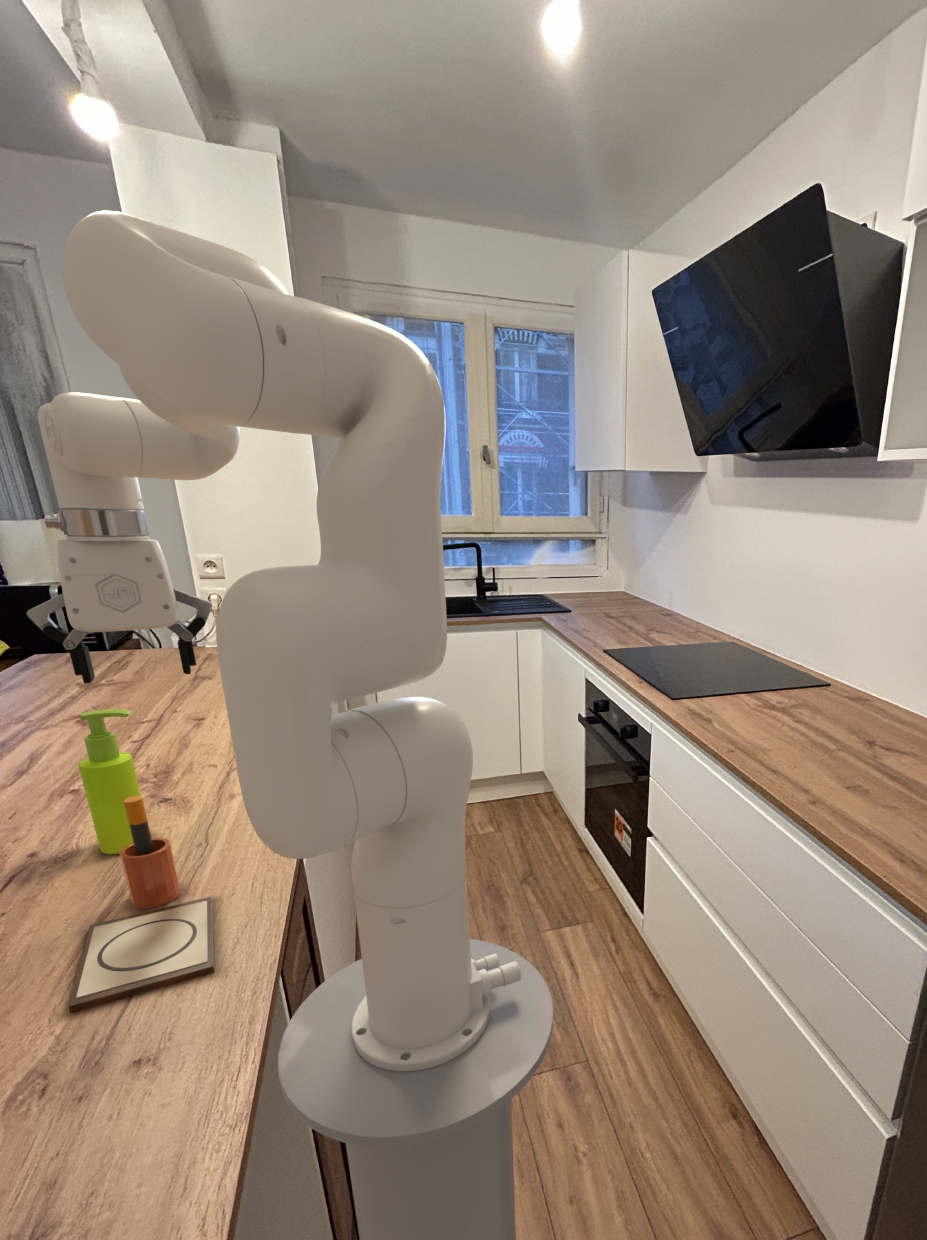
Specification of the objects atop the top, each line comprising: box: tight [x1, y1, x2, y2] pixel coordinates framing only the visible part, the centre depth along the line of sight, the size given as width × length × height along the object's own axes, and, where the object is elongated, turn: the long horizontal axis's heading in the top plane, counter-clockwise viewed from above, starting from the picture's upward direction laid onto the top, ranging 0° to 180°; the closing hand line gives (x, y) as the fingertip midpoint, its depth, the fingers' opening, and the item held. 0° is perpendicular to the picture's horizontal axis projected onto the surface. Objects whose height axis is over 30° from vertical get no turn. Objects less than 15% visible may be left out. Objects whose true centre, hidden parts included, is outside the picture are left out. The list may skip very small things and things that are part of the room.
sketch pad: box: [68, 896, 216, 1014], centre depth 71 cm, size 12×15×1 cm
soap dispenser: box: [78, 708, 142, 855], centre depth 90 cm, size 6×7×20 cm
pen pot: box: [119, 837, 181, 909], centre depth 80 cm, size 5×5×7 cm
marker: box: [124, 795, 155, 856], centre depth 78 cm, size 2×2×13 cm
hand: (140, 676), depth 77 cm, fingers open, 9 cm apart
